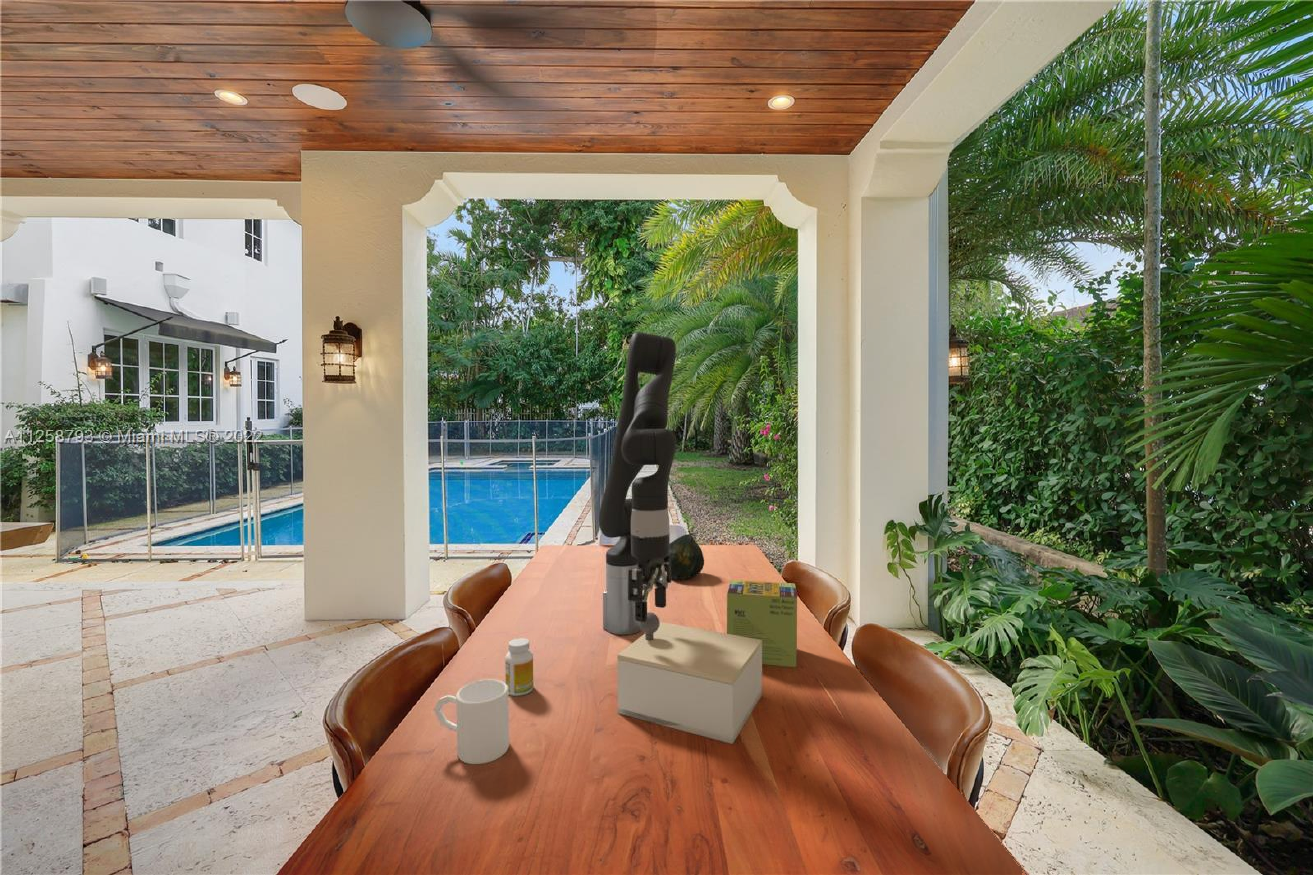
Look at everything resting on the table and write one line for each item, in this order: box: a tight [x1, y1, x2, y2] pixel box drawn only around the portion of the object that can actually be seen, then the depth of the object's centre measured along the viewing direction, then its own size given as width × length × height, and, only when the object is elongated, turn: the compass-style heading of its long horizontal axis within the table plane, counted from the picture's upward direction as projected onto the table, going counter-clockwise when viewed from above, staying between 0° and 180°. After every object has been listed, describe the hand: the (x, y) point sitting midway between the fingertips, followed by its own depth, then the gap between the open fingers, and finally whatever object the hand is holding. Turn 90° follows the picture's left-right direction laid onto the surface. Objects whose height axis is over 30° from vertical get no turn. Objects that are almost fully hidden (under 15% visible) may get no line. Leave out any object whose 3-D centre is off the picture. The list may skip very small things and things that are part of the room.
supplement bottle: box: [504, 637, 534, 697], centre depth 110 cm, size 5×5×10 cm
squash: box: [665, 533, 705, 580], centre depth 188 cm, size 14×15×15 cm
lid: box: [616, 612, 762, 684], centre depth 104 cm, size 22×18×6 cm
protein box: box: [726, 579, 798, 668], centre depth 126 cm, size 10×15×16 cm
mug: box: [433, 678, 510, 765], centre depth 90 cm, size 8×12×10 cm
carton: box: [616, 645, 763, 745], centre depth 104 cm, size 22×18×10 cm
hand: (651, 613), depth 108 cm, fingers open, 8 cm apart
